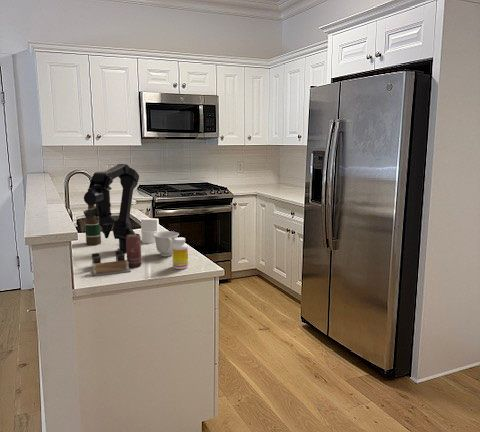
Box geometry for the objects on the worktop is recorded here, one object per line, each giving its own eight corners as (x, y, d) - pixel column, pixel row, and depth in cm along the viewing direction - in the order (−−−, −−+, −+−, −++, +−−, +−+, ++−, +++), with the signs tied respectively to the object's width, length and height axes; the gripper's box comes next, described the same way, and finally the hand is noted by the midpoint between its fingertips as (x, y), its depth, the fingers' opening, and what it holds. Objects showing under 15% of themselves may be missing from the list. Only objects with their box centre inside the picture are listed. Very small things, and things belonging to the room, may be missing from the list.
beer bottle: (89, 246, 223) (86, 199, 218) (83, 243, 229) (80, 197, 224) (104, 243, 228) (101, 197, 223) (97, 240, 234) (95, 195, 229)
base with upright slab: (161, 239, 238) (160, 217, 236) (156, 243, 229) (155, 221, 227) (144, 238, 239) (143, 216, 236) (139, 243, 230) (138, 220, 228)
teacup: (157, 261, 201) (157, 240, 199) (151, 252, 214) (150, 232, 212) (183, 258, 205) (183, 237, 203) (175, 249, 219) (175, 230, 217)
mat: (91, 271, 186) (91, 270, 186) (128, 267, 192) (128, 266, 192) (93, 276, 181) (93, 275, 181) (130, 271, 187) (130, 270, 186)
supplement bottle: (189, 269, 191) (188, 240, 188) (173, 270, 189) (173, 241, 186) (186, 264, 197) (186, 236, 194) (171, 265, 195) (170, 237, 193)
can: (142, 263, 198) (141, 232, 195) (139, 268, 192) (138, 236, 188) (129, 263, 198) (127, 232, 195) (125, 267, 191) (124, 236, 188)
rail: (92, 271, 185) (92, 263, 184) (127, 267, 191) (127, 259, 190) (93, 273, 182) (93, 266, 181) (128, 269, 188) (128, 262, 187)
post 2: (116, 263, 198) (115, 251, 197) (122, 262, 199) (122, 250, 198) (118, 267, 192) (117, 255, 191) (125, 266, 194) (124, 254, 192)
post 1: (92, 265, 194) (91, 253, 193) (99, 265, 195) (98, 253, 194) (93, 270, 188) (93, 257, 187) (101, 269, 190) (100, 256, 188)
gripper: (82, 198, 199) (84, 232, 203) (85, 206, 183) (88, 242, 186) (107, 197, 204) (109, 230, 207) (113, 204, 187) (115, 240, 190)
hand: (105, 235), depth 197 cm, fingers open, 9 cm apart
